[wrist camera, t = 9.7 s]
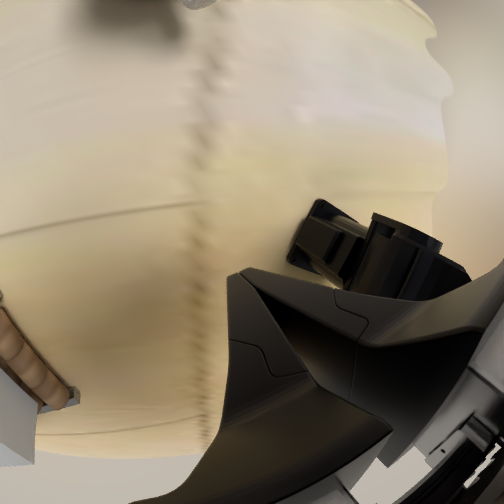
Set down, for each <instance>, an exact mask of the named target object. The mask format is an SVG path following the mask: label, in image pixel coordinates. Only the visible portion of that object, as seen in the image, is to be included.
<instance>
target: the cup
mask: <svg viewBox="0 0 504 504" xmlns="http://www.w3.org/2000/svg"><path fill="white" fill-rule="evenodd" d="M180 1H181V2H182V3H183V4H184V6H186V7H187V8H189V9H191V10H198V9H201V8H205V7H207V6H209V5H211V4H213V3H214V2H215V1H216V0H180Z"/></svg>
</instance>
